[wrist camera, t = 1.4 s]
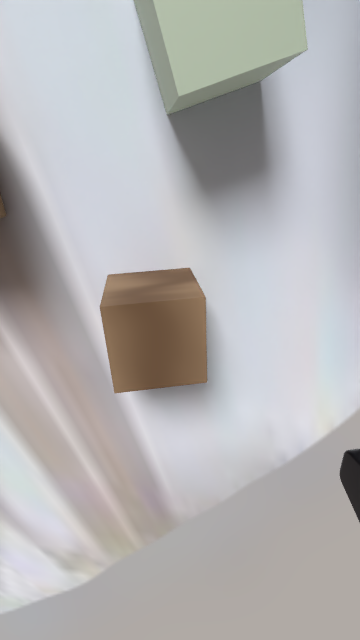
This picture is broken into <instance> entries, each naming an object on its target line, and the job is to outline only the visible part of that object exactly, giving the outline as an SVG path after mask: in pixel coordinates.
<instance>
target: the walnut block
mask: <svg viewBox="0 0 360 640" xmlns="http://www.w3.org/2000/svg"><path fill="white" fill-rule="evenodd" d="M100 311H101V317H102V322H103V328H104V334H105V340H106V346H107V352H108V358H109V363H110V369H111V375H112V381H113V387H114V393H121V392H130V391H138V390H147V389H155V388H164V387H172V386H181V385H189V384H198V383H206V382H207V351H206V297H205V295H204V293H203V291H202V290H201V288H200V286H199V284H198V282H197V280H196V278H195V277H194V275H193V273H192V271H191V269H190V268H182V269H170V270H158V271H146V272H135V273H123V274H111V275H108V276H107V280H106V284H105V288H104V292H103V296H102V300H101V304H100Z"/></svg>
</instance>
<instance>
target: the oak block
mask: <svg viewBox="0 0 360 640" xmlns="http://www.w3.org/2000/svg"><path fill="white" fill-rule="evenodd" d="M5 216H6V212H5V209H4V205H3V201H2V198H1V194H0V218H2V217H5Z"/></svg>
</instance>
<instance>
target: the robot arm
mask: <svg viewBox="0 0 360 640" xmlns="http://www.w3.org/2000/svg"><path fill="white" fill-rule="evenodd" d="M340 479H341V482H342V484H343V486H344V489H345V491H346V493H347V495H348V497H349V499H350V502H351V504H352V506H353V508H354V511H355V513H356V515H357V517H358V520H359V522H360V449H354V450H347V451H346V452H345V453H344V457H343V460H342V465H341V468H340Z"/></svg>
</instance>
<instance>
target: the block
mask: <svg viewBox="0 0 360 640" xmlns="http://www.w3.org/2000/svg"><path fill="white" fill-rule="evenodd" d="M134 2H135V6H136V9H137V13H138V16H139V20H140V23H141V27H142V30H143V34H144V37H145V41H146V44H147V48H148V51H149V54H150V58H151V61H152V65H153V68H154V72H155V75H156V79H157V82H158V86H159V89H160V93H161V96H162V100H163V103H164V106H165V110H166V113H167V115H169V114H172V113H175V112H177V111H180V110H183V109H185V108H188V107H191V106H194V105H196V104H199V103H202V102H205V101H207V100H210V99H213V98H216V97H218V96H221V95H224V94H227V93H229V92H232V91H235V90H237V89H240V88H243V87H246V86H248V85H251V84H254V83H257V82H259V81H261V80H263V79H264V78H266V77H267V76H269V75H270V74H272V73H273V72H275V71H276V70H278V69H279V68H281V67H282V66H284V65H285V64H287V63H288V62H290V61H291V60H292V59H294V58H295V57H297V56H298V55H300V54H301V53H303V52H304V51H306V50H307V49H308V48H307V39H306V30H305V21H304V11H303V2H302V0H134Z"/></svg>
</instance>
